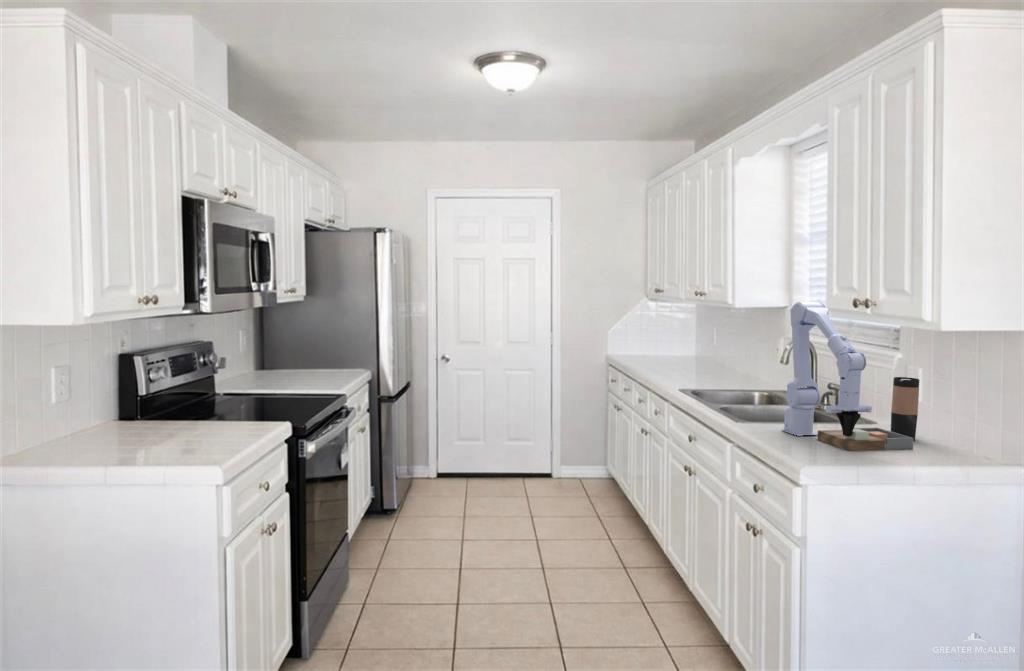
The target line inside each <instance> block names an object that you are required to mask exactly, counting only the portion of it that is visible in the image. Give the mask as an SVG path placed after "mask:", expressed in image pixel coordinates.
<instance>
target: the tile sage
mask: <svg viewBox="0 0 1024 671" xmlns="http://www.w3.org/2000/svg"><path fill="white" fill-rule="evenodd" d="M846 437H847V436H846ZM847 438H850V439H853V440H869V432H867V431H864V430H860V429H853V432H852V435H851V436H848V437H847Z"/></svg>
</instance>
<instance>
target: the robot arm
mask: <svg viewBox="0 0 1024 671" xmlns="http://www.w3.org/2000/svg"><path fill="white" fill-rule="evenodd" d="M789 312H790V327H791V342H792V343H791V344H792V359H793V361H792V364H793V379H792V380H790V382H788V383H787V384H786V388H787V389H786V392H785V400H786V401H785V402H786V403H787V405H788V406H787V407H786V408H785V412H784V425H783V428H781V431H783V432H785V433H789V434H790V435H793V434H794V436H796V435H797V437H804V436H803V435H817V436H818V432H817V433H816V432H814V415H815V413H814V412H815V409H817V406H818V405H819V404H820V401H821V393H820V390H819V384H818V383H817V382H816V381H815V380H814V379H813V378H812V366H811V349H810V348H811V347H810V345H811V344H810V343H811V342H810V341H811V340H810V331H811V330H812V328H815V327H817V328H818V329H819V330H820V331H821V333H822V334H823V335H824V336H825V337H826V339H827V342H826V343H827V347H828V348H829V349H830V351H831V352H832V354H833V355H834V356H835V359H836V362H835V363H836V367H837V369H838V376H839V392H838V393H839V394H838V404H833V405H825V411H824V413H827V414H835V415H836V416H837V419H838V420H839V423H840V426H841V430H842V431H843V435H844V436H847V437H848V436H851V435H852V432H853V429H854V428H855V426H856V424H857V423H858V421H859V419H861V416H862V414H861V413H872V408H873V407H872V406H871V405H867V404H864V405H862V404H860V397H861V396H860V394H861V383H862V382H861V381H862V380H861V378H862V371H864V370H865V369H866V365H867V359H866V357H865V354H864V353H863V352H861V351H858V350H856V349H855V348H854V346H852V344H851V343H850V341H849V340H848V338H847V336H846V335H844V334H842V333H839V332H838V331H837V329H836V327H835V325H834V324H833V322H832V320H831V319H830V317H829V309H828V307H827V306H826V304H825V303H824V302H801V301H797V302H795V303H794V304H793V305H792V306H791V308H790V310H789Z"/></svg>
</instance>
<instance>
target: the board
mask: <svg viewBox="0 0 1024 671" xmlns="http://www.w3.org/2000/svg"><path fill="white" fill-rule="evenodd" d="M817 434H818V435H817V439H819V440H818V441H820V440H821V441H820V442H823V441H824V442H823V443H825V442H826V443H825V444H828V443H829V444H828V445H831V446H834V447H837V448H839V447H840V448H839V449H842V448H843V450H845V451H849V452H861V451H862V452H867V451H885V450H884V449H885V440H882V439H879V438H876V437H872V436H869V440H853V439H850V438H847V437H846V436H844V435H843V431H842V429H828V430H827V429H825V430H824V429H823V430H817Z"/></svg>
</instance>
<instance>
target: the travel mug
mask: <svg viewBox="0 0 1024 671" xmlns="http://www.w3.org/2000/svg"><path fill="white" fill-rule="evenodd" d="M892 383H893V384H892V397H891V398H892V399H891V412H890V413H891V414H890V431H891V432H894V433H898V434H901V435H905V436H908V437H912V438H914V440H913V442H914V441H916V435H917V433H916V432H917V425H918V424H917V423H918V416H919V415H918V412H919V399H920V398H919V396H920V395H919V393H920V379H919V378H916V377H914V378H913V377H907V376H895V377H893V382H892Z"/></svg>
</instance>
